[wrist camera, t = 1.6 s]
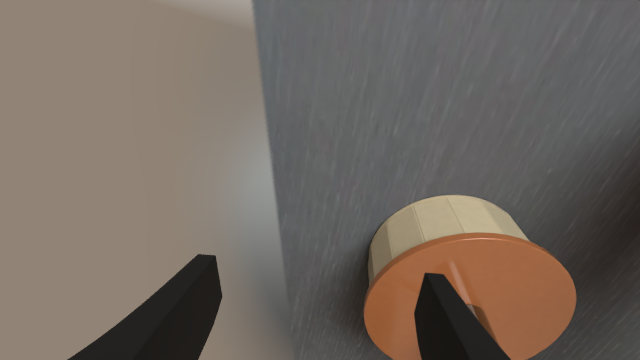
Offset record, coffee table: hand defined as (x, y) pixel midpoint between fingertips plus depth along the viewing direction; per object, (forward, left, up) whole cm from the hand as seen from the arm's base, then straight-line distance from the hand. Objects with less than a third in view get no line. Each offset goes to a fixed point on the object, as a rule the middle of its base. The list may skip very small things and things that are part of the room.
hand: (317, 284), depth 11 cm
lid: (-8, +7, -5) cm, 12 cm away
